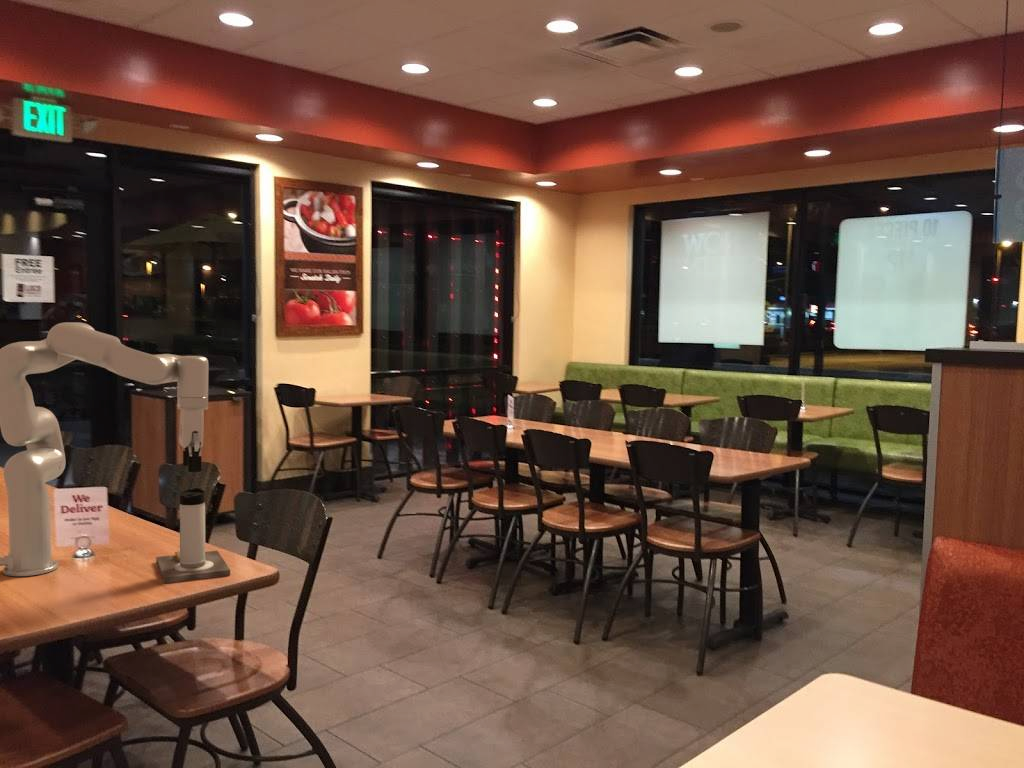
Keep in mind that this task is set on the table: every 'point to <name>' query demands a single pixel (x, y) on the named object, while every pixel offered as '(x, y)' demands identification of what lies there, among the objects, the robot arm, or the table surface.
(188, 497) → the travel mug
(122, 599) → the table surface
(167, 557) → the grey sink model
